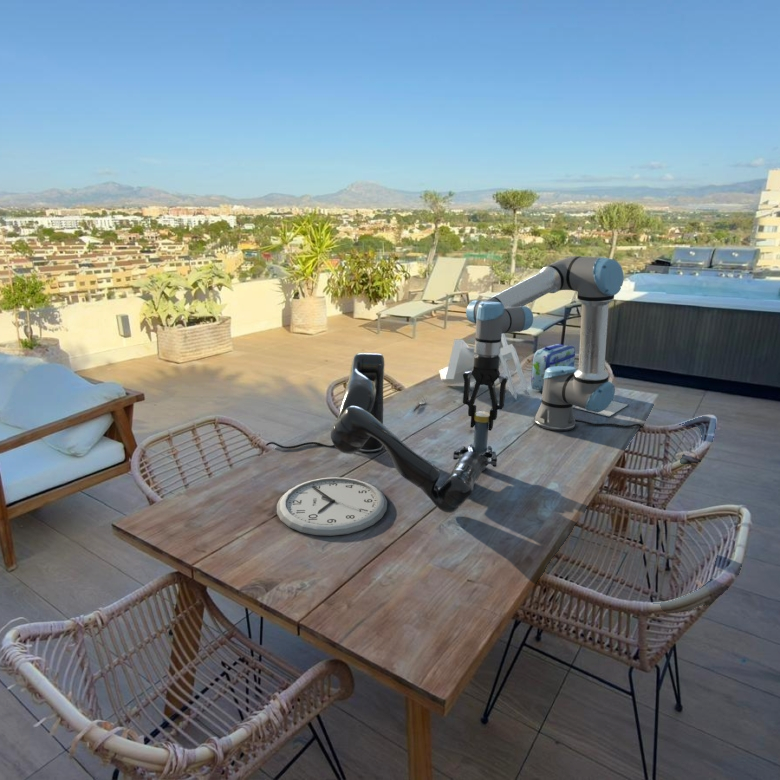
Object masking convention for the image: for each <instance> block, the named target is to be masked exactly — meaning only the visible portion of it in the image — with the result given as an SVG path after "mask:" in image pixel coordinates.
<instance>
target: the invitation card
mask: <svg viewBox="0 0 780 780" xmlns="http://www.w3.org/2000/svg"><path fill="white" fill-rule="evenodd" d="M628 406H629V404H627V403H623V402H618V401H614V400H612V401H611V403H610V404H609V406H608V407H607V408H606V409H605V410H603V411H601V412H593V411H588V410H586V409H583V408H580V407H577V406H574V407H573V409H575V410H581V411H584V412H587V413H593V414H596V415H600V416H604V417H608V418H609V417H611V416H613V415H614V414H616V413H617V412H619V411H621V410H623V409H624V408H626V407H628Z"/></svg>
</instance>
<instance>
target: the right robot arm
mask: <svg viewBox="0 0 780 780" xmlns="http://www.w3.org/2000/svg"><path fill="white" fill-rule="evenodd" d="M623 284H624V271H623V268H622V265H621V264H620V263H619V261H618V260H615V258H614V259H613V258H608V257H601V256H600V257H599V256H581V255H573V256H569V257H565V258H563V259H560V260H557V261H555V262H552V263H550V264H548V265H546V266H544V267H542V268H541V269H540V270H539V273H537V274H534V275H533V276H530V277H529V278H527V279H525V280H523V281H520V282H518V283H517V284H515V285H512V286H511V287H508V288H507V289H505V290H503V291H500V292H499V293H497V294H495V295H493V296H491V297H489V298H487V299H484V300H480V299H479V300H476V299H475V300H472V301H470V302H469V303H468V305H467V307H466V310H465V315H466V319H467V320H468V321H469V322H470V323H472V324H475V339H474V346H475V350H474V352H475V353H476V354H475V355H474V366H473V370H472V371H470V372H467V371H466V372H465V373H464V374H463V378H464V383H463V393H462V403H463V405H466V406H467V408H468V411H467V415H468V417H470V428H475V420H474V413H475V412H477V404H476V405H475V403H476V399H477V396H478V394H479V391H480V388H481V386H486V387H488V389H487V390H488V391H489V397H490V402H491V403H490V404H491V408H490V409H489V413H490V416H489V428H488V431H492V430H493V427H494V421H496V420H497V418H498V411H499V410H503V408H504V407H505V401H506V388H507V380H508V377H507V376H505V375H502V374H501V372H500V366H499V360H500V357H499V356H498V355H499V354H500V348H502V346H501V345H502V341H501V336H502V333H504V334H509V333H521V332H524V331H527V330H529V329H530V328H531V327H532V326H533V324H534V314H533V311H532V309H530V308H529V307H528V306H527V305H528V304H530V303H532V302H534V301H536V300H538V299H540V298H542V297H544V296H545V295H546V296H547V294H555V293H558V292H560V291H573V292H577V295H576V297H577V298H576V299H577V300H578V302H579V303H580V304H581V310H580V311H581V312H580V313H581V315H580V329H579V330H580V331H579V332H580V333H579V354H578V368H577V367H575V366H574V367H570V366H555V367H549V368H547V369H546V370H545V375H544V378H543V379H544V380H543V391H541V402H540V405H539V407H538V410H537V411H536V413H535V417H534V424H535V425H536V426H537V427H539V428H542V429H544V430H549V431H556V432H567V431H572V430H574V429H575V428H576V423H580V424H586V425H588V426H589V425H590V426H595V427H596V426H597V427H598V426H599V427H601V426H606V427H607V426H609V427H618V428H633V427H639V428H641V429H644V426H643V424H640V423H633V424H617V423H608V422H604V423H603V422H602V423H600V422H598V423H597V422H589V421H587V420H581V419H576V418H575V417H576V416H575V413H574V407H576V406H577V407H580V408H583V409H586V410H588V411H593V412H601V411H603V410H605V409H606V408H607V407H608V406H609V404H610V403H611V401H613V399H614V397H615V393H616V387H615V385H614V383H612V382H611V381H609V378H610V377H609V373H608V371H606V370H605V368H606V367H605V365H606V364H605V363H606V352H607V349H606V348H607V336H608V322H609V309H610V308H609V307H610V303H611V302H613V300H614V299H615V296H616V295H618V293H620V291H621V290H622V288H621V287H622V286H623ZM472 375H473V377H474V379H475V380H476V383H474V387H473V390H472V393H471V395H470V387H471V382H470V378H471V376H472ZM497 379H499V380H497ZM496 381H498V382H499V383H500V385H499V386H500V387H499V395H498V396H499V398H497V392H496V383H495V382H496ZM573 406H574V407H573ZM588 411H587V412H588Z"/></svg>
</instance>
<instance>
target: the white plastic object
mask: <svg viewBox="0 0 780 780" xmlns="http://www.w3.org/2000/svg"><path fill="white" fill-rule="evenodd" d="M501 345H502V347H500V354H499V355H498V356H499V357H500V360H499V367H500V366H502V370H503V373H504V377H505V376H507V377H508V380H507V383H506V385H507V386H508V390H509V393H510V394H511V395H512V397H513V398H514V399H515V400H517V392H516V391H517V390H516V388H515V385H514V381H513V378H512V375H511V371H510V369H509V365H508V361H510V360H513V363H514V366H515V369H516V372H517V376H518V380H519V382H520V385H521V389H522V391H523V393H524V395H525V396H526V397H528V396H531V395H530V390H529V388H528V387H529V386H528V384H527V381H526V378H525V375H524V371H523V369H522V368H523V367H522V366H521V362H520V359H519V355H518V352H517V349H516V347H515V346H514V345H513V343H511V344H508V341H507V337H506V333H502V336H501ZM474 350H475V345H473V346H469V345H468V343H466V342H465V340H464V339H463V338H460V339H458V338H454V340H453V344H452V349H451V353H450V357H449V362H448V366H446V367H444V368H442V369H440V370H439V371H438V372H439V376H440V381H442V383H443V384H444V385H445V386H449V385H458V384H464V378H463V374H464V373H465V372H466V371H467V372H470V371H472V370H473V366H474V355H475V354H476V353H475V352H474ZM470 383H473V384H475V383H476V380H475V379H474V377H473V375H472V376H471V378H470Z"/></svg>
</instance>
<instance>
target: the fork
mask: <svg viewBox="0 0 780 780" xmlns="http://www.w3.org/2000/svg"><path fill="white" fill-rule="evenodd" d="M427 399H428V397H424V396H422V397H421V398H420V400H419V402H418V403H419V404H417V405H416V406H415V408H413V412H415V411H416V410H419V408H420V406H421V405H425V404H426V403H427Z"/></svg>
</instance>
